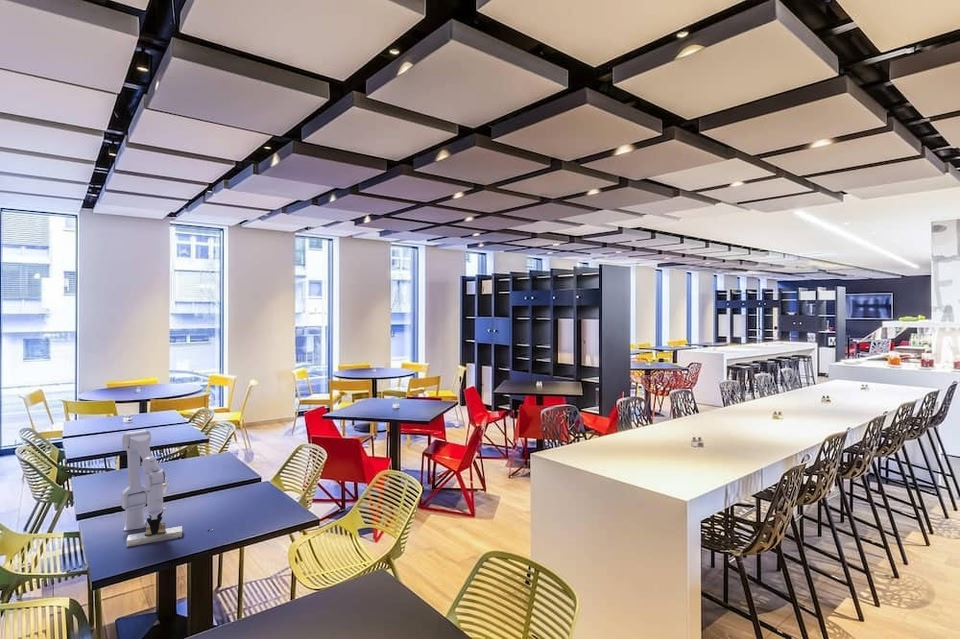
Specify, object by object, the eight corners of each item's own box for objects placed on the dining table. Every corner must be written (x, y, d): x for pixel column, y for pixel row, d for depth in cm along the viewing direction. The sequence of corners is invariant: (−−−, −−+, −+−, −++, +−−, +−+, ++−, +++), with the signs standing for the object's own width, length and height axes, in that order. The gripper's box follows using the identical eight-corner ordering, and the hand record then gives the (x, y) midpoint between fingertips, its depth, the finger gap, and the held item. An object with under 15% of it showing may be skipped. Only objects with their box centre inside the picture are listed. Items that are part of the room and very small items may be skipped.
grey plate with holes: (128, 540, 223) (128, 535, 223) (182, 531, 233) (182, 525, 233) (126, 546, 217) (126, 540, 217) (181, 537, 227) (181, 531, 227)
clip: (146, 539, 225) (146, 525, 225) (165, 536, 228) (165, 522, 228) (145, 541, 222) (145, 527, 222) (165, 538, 225) (165, 524, 225)
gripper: (165, 502, 221) (165, 534, 221) (166, 493, 233) (166, 523, 233) (145, 505, 217) (145, 538, 217) (148, 495, 230) (148, 526, 230)
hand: (155, 531), depth 225 cm, fingers open, 7 cm apart
